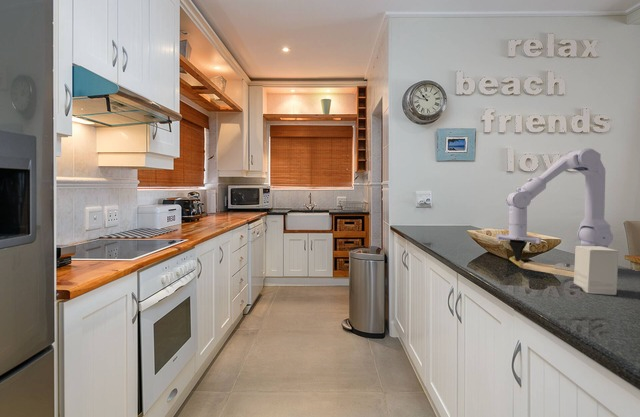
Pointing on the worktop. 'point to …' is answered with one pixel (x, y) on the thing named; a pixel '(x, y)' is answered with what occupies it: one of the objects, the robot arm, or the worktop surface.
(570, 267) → the lever cap
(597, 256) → the supplement box
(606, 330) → the worktop surface
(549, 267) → the board
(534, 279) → the worktop surface
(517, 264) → the lever
